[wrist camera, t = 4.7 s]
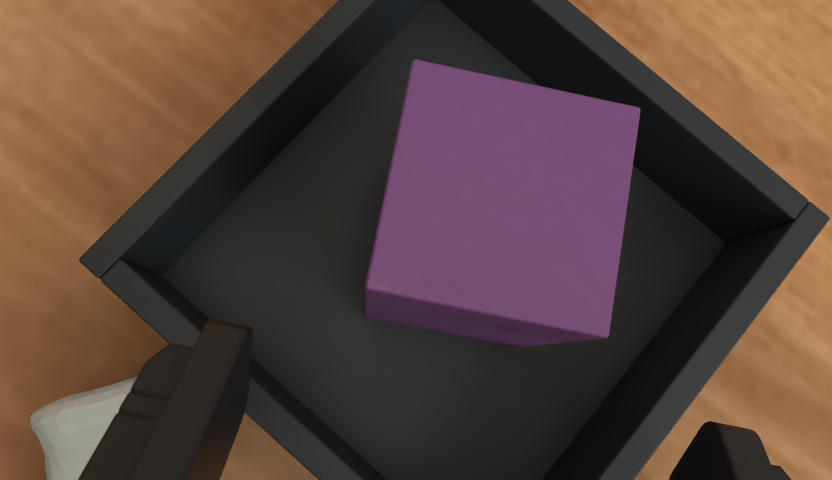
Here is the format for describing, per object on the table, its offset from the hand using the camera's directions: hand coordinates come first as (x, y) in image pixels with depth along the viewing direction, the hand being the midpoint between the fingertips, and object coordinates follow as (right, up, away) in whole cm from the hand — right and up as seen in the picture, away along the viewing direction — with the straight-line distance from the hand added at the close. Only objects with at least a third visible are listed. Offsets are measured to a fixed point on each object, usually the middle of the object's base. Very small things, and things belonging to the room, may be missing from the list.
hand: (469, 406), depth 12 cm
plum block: (0, +2, +8) cm, 9 cm away
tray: (0, +2, +9) cm, 10 cm away
